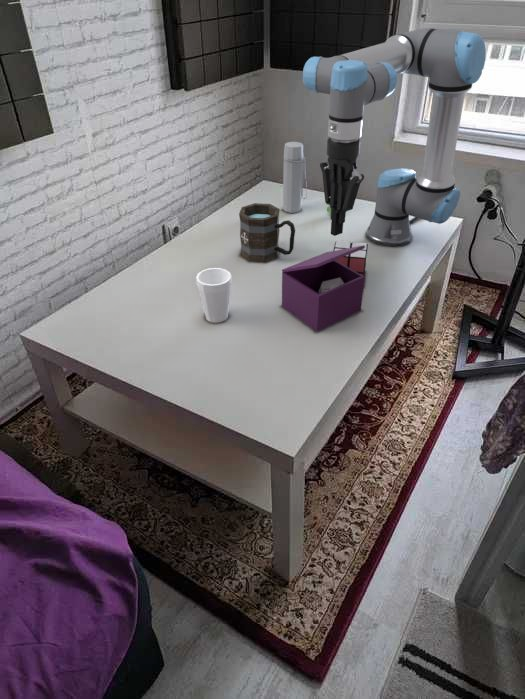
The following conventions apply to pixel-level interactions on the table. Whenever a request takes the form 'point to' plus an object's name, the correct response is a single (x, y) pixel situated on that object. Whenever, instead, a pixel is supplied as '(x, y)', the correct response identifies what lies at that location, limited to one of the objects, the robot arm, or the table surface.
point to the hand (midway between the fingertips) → (336, 233)
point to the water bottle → (293, 177)
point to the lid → (323, 259)
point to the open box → (328, 305)
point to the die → (330, 285)
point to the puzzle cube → (353, 256)
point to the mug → (262, 233)
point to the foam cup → (215, 293)
